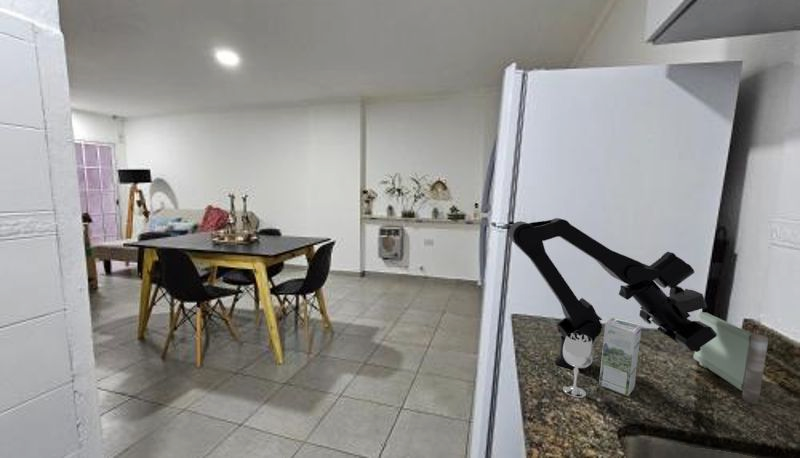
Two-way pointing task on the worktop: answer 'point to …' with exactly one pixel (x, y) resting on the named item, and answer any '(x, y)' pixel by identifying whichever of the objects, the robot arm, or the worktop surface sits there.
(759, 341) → the frame
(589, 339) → the wineglass
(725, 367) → the pale green flat block
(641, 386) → the worktop surface
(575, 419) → the worktop surface
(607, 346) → the syrup box
